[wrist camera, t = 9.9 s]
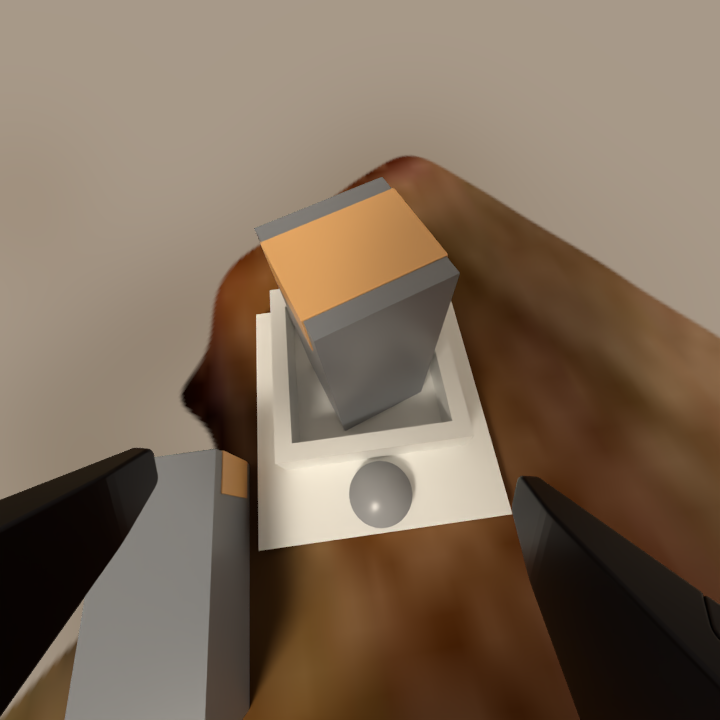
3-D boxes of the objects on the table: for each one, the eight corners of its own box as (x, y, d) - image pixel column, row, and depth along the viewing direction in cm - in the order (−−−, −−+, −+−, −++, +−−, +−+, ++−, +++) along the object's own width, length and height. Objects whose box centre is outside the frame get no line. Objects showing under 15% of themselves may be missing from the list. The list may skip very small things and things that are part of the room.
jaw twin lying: (251, 706, 15) (204, 776, 11) (140, 723, 15) (49, 800, 11) (251, 463, 19) (216, 447, 15) (164, 476, 19) (106, 462, 15)
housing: (506, 514, 17) (530, 513, 15) (263, 549, 17) (242, 554, 15) (445, 296, 23) (454, 265, 20) (260, 321, 23) (244, 293, 20)
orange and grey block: (421, 391, 19) (461, 271, 10) (344, 431, 18) (311, 341, 9) (380, 326, 21) (383, 175, 12) (308, 361, 20) (252, 227, 11)
